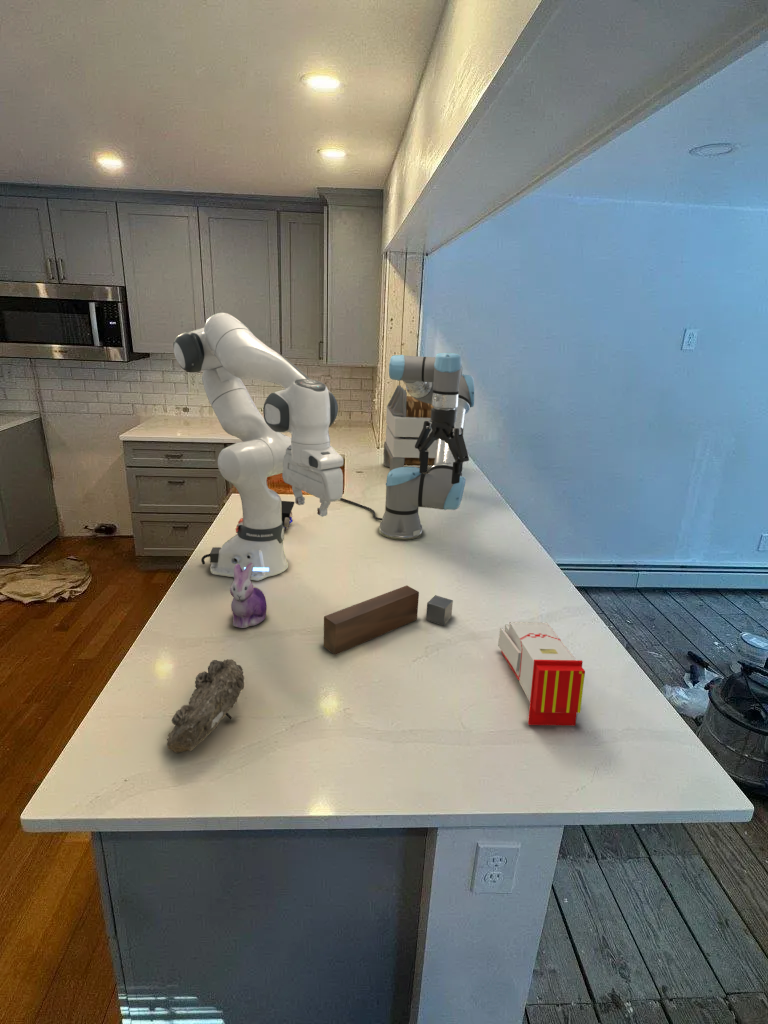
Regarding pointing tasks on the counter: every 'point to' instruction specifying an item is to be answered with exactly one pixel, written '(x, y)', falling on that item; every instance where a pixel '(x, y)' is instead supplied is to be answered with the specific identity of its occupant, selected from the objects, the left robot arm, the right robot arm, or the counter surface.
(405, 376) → the right robot arm
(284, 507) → the figurine character
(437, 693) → the counter surface
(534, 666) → the toy
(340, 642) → the walnut plank
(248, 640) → the counter surface
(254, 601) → the figurine
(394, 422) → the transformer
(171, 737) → the fossil
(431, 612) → the slate block
